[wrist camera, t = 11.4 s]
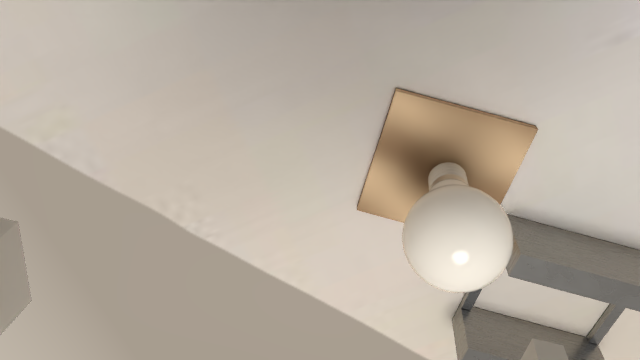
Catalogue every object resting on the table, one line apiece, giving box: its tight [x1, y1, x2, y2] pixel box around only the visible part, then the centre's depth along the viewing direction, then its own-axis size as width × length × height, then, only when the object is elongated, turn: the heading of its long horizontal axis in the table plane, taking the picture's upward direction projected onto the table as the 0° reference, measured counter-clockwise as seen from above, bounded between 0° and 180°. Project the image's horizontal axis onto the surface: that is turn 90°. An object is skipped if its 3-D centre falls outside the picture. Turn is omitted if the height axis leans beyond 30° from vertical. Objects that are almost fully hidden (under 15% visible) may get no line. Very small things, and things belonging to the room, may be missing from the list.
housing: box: [452, 215, 640, 360], centre depth 39 cm, size 12×12×5 cm
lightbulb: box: [402, 162, 513, 293], centre depth 32 cm, size 6×6×11 cm
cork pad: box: [357, 88, 538, 223], centre depth 37 cm, size 10×10×1 cm
